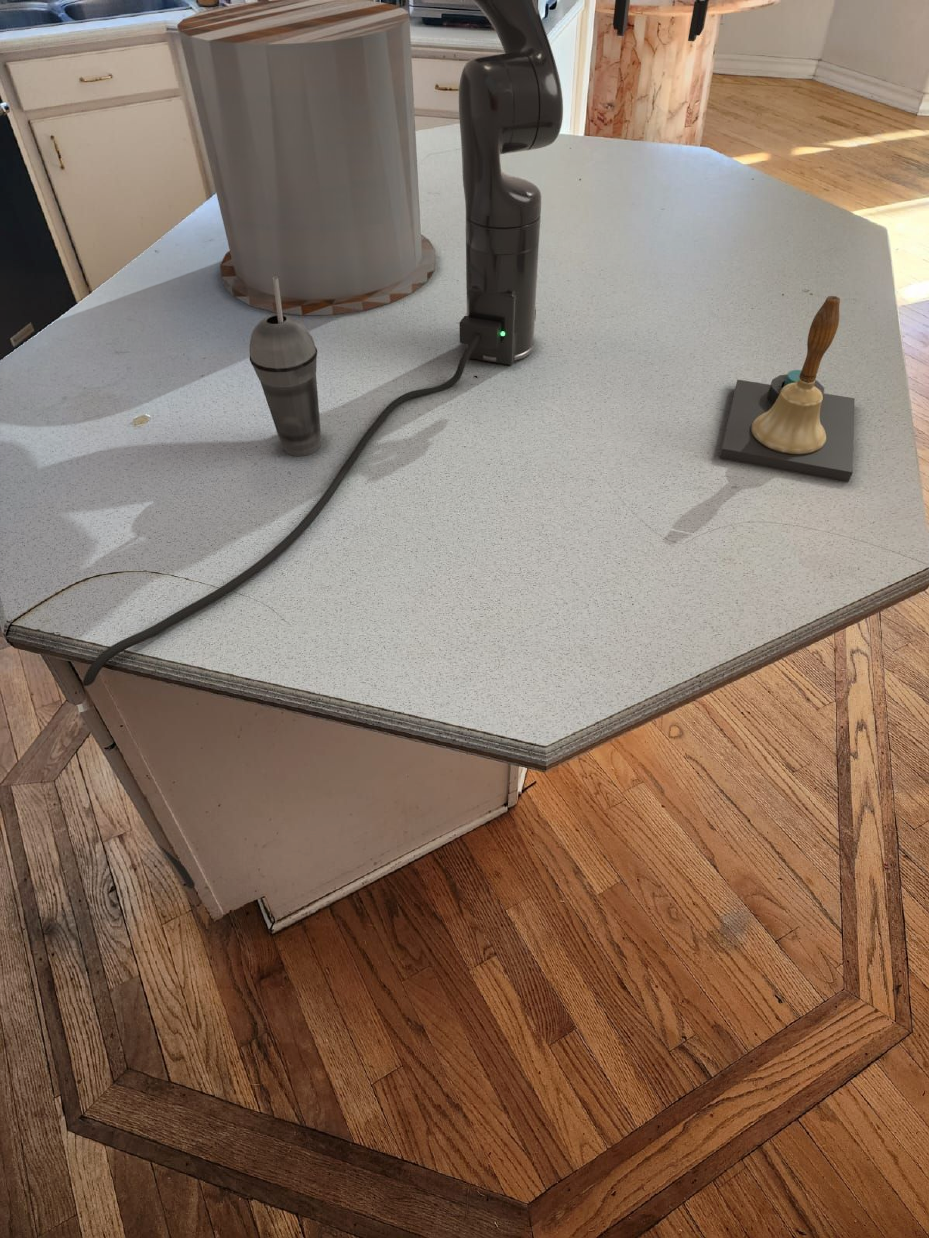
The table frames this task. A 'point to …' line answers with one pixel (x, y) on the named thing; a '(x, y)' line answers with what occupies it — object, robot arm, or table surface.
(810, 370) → the hand bell
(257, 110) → the storage basket
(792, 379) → the button
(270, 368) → the beverage cup
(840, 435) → the scale
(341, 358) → the table surface
